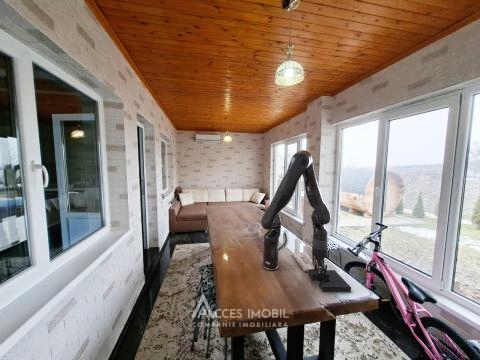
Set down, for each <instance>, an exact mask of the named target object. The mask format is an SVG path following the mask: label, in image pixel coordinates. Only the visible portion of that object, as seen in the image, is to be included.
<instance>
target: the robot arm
mask: <svg viewBox="0 0 480 360" xmlns="http://www.w3.org/2000/svg"><path fill="white" fill-rule="evenodd" d="M301 177H302V179H303V184H304V191H305V195H306V199H307V201H308V204H309V206H310V207H311V208H312V209H313V210H312V212H311V224H312V229H313V231H312V241H311V242H312V243H311V258H312V264H313V265H314V269H315V270H318V272H319V275H318V280H319V281H318V282H324V281H323V275H326V271H327V270H328V264H325V259H326V258H327V257H328V246H329V245H328V244H329V243H328V232H329V231H328V229H327V228H326V225H328V224H329V223H330V222H331V220H332V215H331V212H330V210H329V208H328V206H327V205H326V203H325V201H324V199H323V195H322V193H321V190H320V187H319V184H318V180H317V177H316V173H315V169H314V161H313V155H312V154H311V152H309V151H308V150H305V149H301V150H299V151H297V152H295V153H294V154H293V155H292V156H291V158H290V162H289V164H288V167H287V170H286V172H285V175H284V176H283V178H282V179H281V182H280V183H279V185H278V187H277V188H276V191H275V192H274V196H273V197H272V199H271V201H270V203H269V205H268V207H267V209H266V210H265V211H264V213H263V215H262V217H261V220H260V222H261V223H260V224H261V227H262V228H263V229H264V230H266V232H265V233H264V234H263V248H262V249H263V250H262V251H263V252H262V256H263V257H262V267H263V268H264V269H265V270H268V271H276V270H278V269H279V253H280V252H279V250H280V249H282V248H283V247H284V246H285V245H286V244H287V241H288V237H287V234H286V231H284V237H285V241H284V243H283V244H282V245H280V237H281V232H282V219H281V218H282V217H281V216H280V214H279V213H280V212H282V210H284V209H285V208H286V207H287V206H288V205H289V204H290V202H291V201H292V200H293V196H294V195H295V192H296V191H297V187H298V183H299V180H300V179H301ZM320 269H321V270H320Z"/></svg>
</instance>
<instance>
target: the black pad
mask: <svg viewBox="0 0 480 360" xmlns="http://www.w3.org/2000/svg"><path fill="white" fill-rule="evenodd" d="M307 273H308V274H307V275H308V277H309V279H310V280H311V281H312V282H320V281H319V280H318V275H319V272H318V270H315V269H309V272H307ZM327 281H329V274H328V273H327V271H326V275H323V281H322V282H327Z"/></svg>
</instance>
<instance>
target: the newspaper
mask: <svg viewBox="0 0 480 360" xmlns="http://www.w3.org/2000/svg"><path fill="white" fill-rule="evenodd" d="M291 256H292V257H293V258H294V259H295V261H296V262H297V264H298V265H299V266H300V267H301V269H302V271H303V272H304V273H308V272H309V269H314V265H313V264H312V256H310V255H309V254H308V253H307V252H305V251H302V252H293V253H291ZM320 270H321V269H320Z"/></svg>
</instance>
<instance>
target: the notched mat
mask: <svg viewBox="0 0 480 360" xmlns="http://www.w3.org/2000/svg"><path fill="white" fill-rule="evenodd" d="M327 273H328V274H329V281H318V287H319V289H320V290H321V291H322V292H323V293H351V292H352V287H351V286H350V284H349V283H348V282H347V281H346V280H345V279H344V278H343V277H342V275H340V274H339V273H338V272H337V271H336V270H335V269H327Z"/></svg>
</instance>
